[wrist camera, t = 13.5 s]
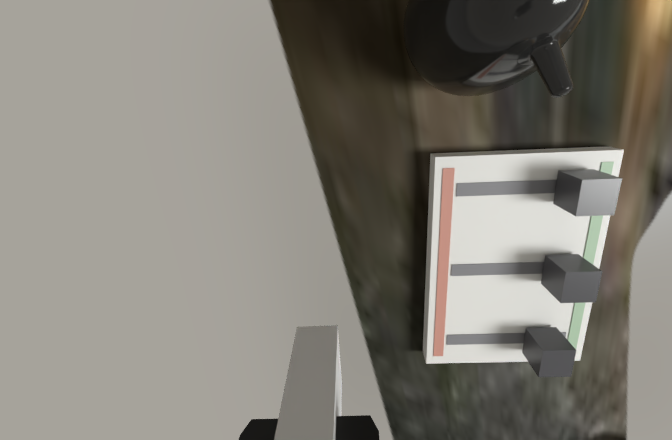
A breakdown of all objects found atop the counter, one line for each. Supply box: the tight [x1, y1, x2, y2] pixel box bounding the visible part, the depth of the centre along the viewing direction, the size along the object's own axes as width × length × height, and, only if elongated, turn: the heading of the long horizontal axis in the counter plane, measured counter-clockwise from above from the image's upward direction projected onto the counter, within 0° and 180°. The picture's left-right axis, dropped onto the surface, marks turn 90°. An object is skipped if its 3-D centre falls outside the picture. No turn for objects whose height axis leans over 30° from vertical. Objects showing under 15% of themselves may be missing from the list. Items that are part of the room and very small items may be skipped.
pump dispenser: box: [404, 0, 590, 98], centre depth 24 cm, size 10×10×15 cm
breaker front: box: [553, 169, 622, 216], centre depth 31 cm, size 3×3×4 cm
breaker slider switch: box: [522, 327, 576, 377], centre depth 37 cm, size 3×3×4 cm
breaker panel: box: [423, 146, 624, 364], centre depth 37 cm, size 22×16×2 cm
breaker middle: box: [541, 254, 602, 303], centre depth 34 cm, size 3×3×4 cm
